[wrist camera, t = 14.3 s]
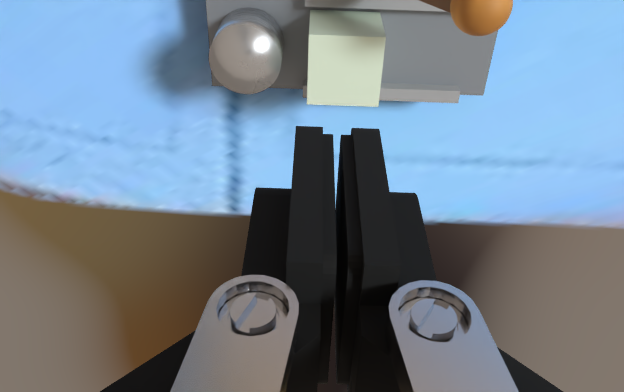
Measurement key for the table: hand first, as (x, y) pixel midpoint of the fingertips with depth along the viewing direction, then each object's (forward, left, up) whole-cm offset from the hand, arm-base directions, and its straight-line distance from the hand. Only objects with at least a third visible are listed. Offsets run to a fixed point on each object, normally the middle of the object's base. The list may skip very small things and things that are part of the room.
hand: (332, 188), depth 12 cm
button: (+6, -4, -23) cm, 24 cm away
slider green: (+6, +1, -23) cm, 24 cm away
